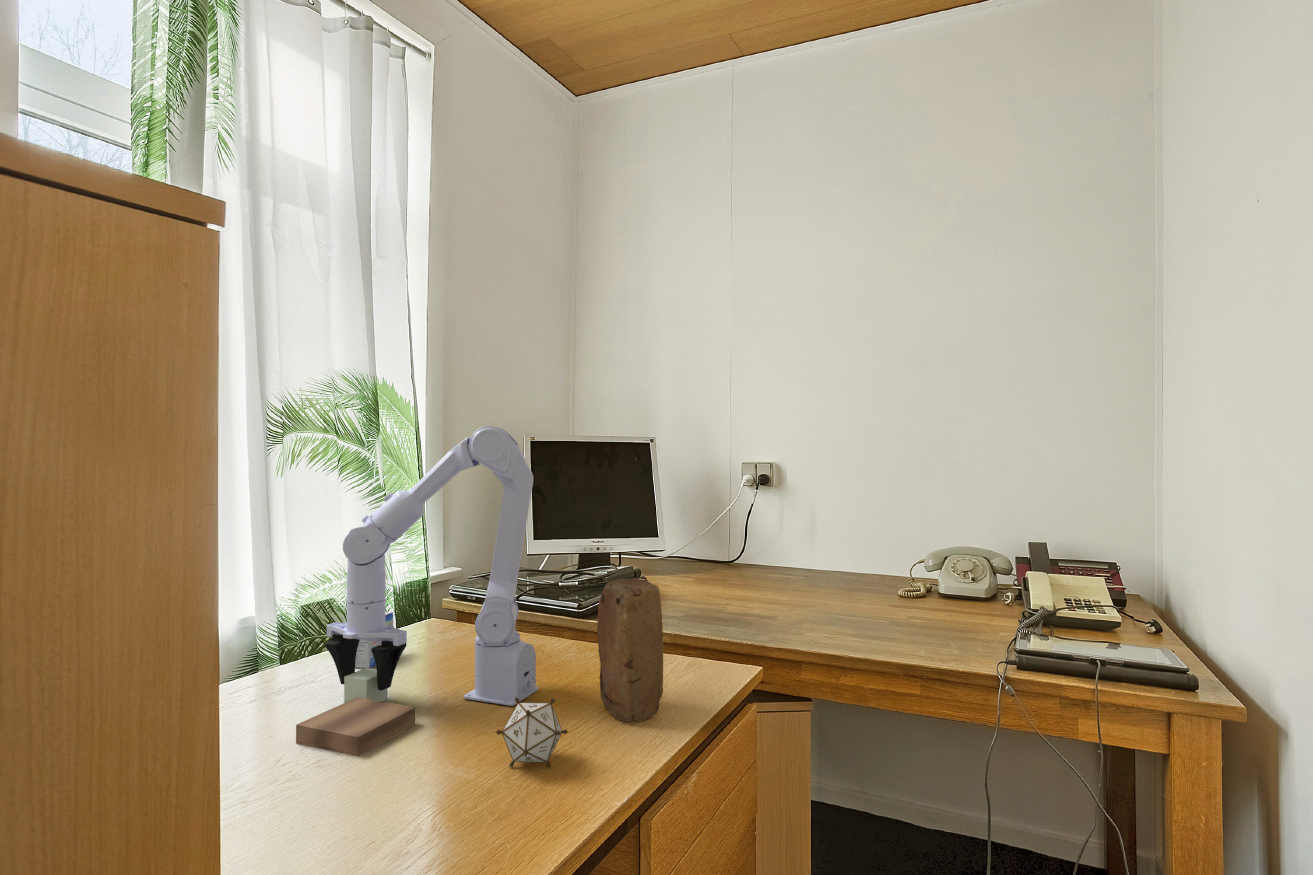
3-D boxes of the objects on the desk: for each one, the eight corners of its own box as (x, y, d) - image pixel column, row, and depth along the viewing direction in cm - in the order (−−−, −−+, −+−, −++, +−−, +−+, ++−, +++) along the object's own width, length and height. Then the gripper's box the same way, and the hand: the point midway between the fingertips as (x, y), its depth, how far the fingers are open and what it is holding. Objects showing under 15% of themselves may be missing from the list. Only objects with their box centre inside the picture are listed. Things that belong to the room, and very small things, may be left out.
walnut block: (415, 727, 100) (415, 707, 101) (357, 759, 90) (358, 736, 90) (357, 716, 104) (357, 697, 104) (295, 746, 94) (296, 724, 94)
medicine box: (369, 669, 125) (369, 622, 125) (347, 667, 126) (347, 620, 126) (393, 656, 133) (394, 611, 133) (373, 655, 134) (373, 610, 134)
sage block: (387, 698, 111) (387, 671, 111) (366, 708, 107) (366, 680, 107) (365, 695, 112) (365, 667, 112) (344, 705, 108) (344, 676, 108)
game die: (535, 798, 86) (524, 757, 80) (490, 759, 91) (477, 717, 85) (583, 744, 92) (576, 702, 86) (539, 710, 96) (529, 667, 90)
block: (667, 718, 103) (667, 585, 103) (623, 729, 99) (623, 590, 99) (633, 695, 112) (633, 573, 112) (591, 704, 108) (591, 577, 108)
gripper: (311, 601, 108) (310, 687, 108) (384, 609, 103) (383, 699, 103) (346, 592, 115) (345, 673, 115) (416, 599, 110) (415, 684, 110)
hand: (365, 685), depth 110 cm, fingers open, 7 cm apart
